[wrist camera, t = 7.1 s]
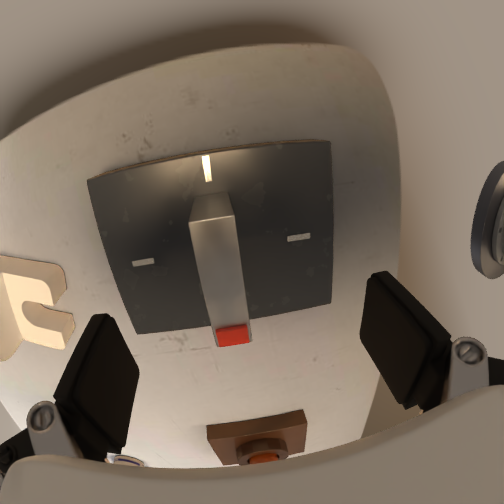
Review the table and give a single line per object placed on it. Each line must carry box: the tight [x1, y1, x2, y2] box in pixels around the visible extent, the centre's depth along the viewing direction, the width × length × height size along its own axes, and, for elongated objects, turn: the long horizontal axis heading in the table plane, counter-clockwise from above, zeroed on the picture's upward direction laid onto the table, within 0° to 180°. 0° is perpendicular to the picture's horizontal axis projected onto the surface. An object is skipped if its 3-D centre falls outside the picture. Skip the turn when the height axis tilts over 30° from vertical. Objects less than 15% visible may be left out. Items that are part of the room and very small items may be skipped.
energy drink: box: [114, 456, 144, 467], centre depth 27 cm, size 5×5×12 cm
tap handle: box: [188, 192, 252, 347], centre depth 14 cm, size 6×2×5 cm, turn 6°
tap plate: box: [87, 139, 333, 334], centre depth 17 cm, size 14×11×3 cm
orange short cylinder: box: [249, 453, 278, 464], centre depth 27 cm, size 4×4×2 cm
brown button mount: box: [207, 409, 307, 465], centre depth 29 cm, size 12×10×4 cm
